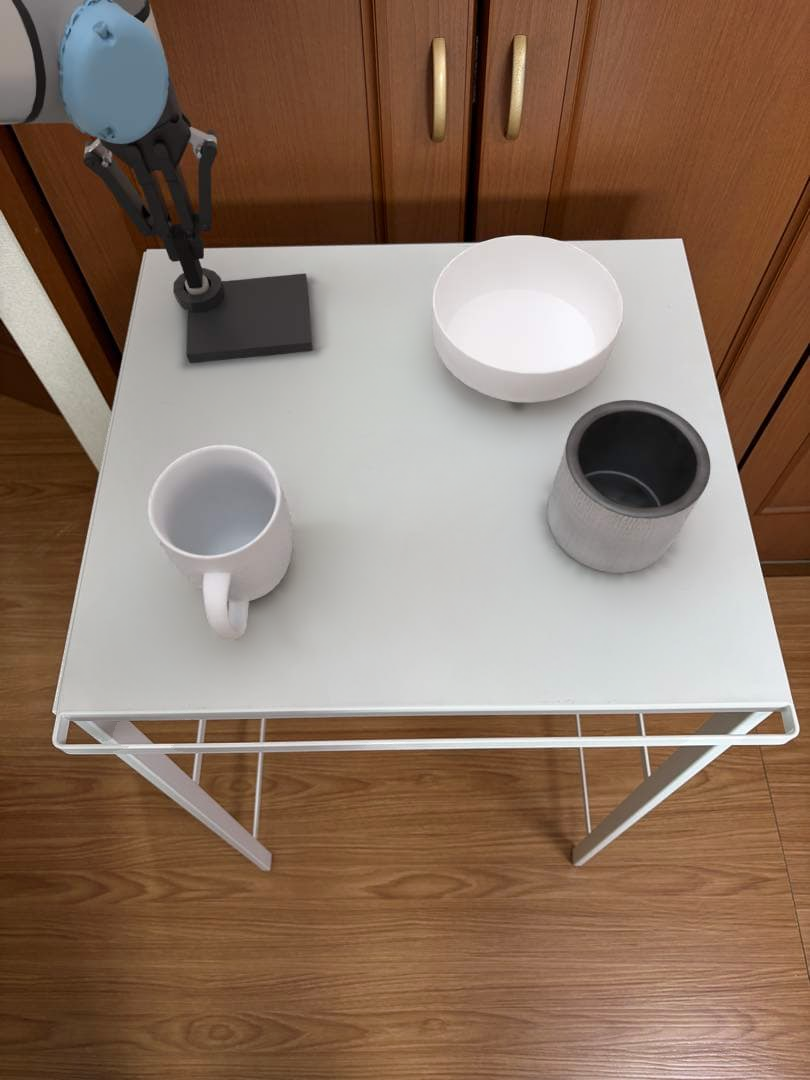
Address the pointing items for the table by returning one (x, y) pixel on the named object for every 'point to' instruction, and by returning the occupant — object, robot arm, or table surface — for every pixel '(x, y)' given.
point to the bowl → (525, 317)
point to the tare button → (198, 290)
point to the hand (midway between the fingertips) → (196, 279)
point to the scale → (246, 317)
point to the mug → (223, 529)
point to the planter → (626, 485)
